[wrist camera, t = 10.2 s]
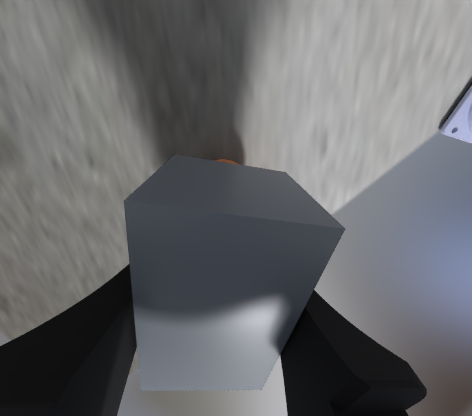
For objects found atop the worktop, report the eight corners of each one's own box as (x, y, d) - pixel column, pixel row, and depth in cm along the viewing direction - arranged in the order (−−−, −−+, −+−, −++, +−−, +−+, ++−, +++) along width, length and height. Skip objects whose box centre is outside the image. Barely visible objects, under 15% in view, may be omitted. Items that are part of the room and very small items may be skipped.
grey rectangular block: (285, 172, 11) (345, 228, 6) (248, 295, 16) (261, 389, 10) (175, 154, 10) (123, 200, 5) (170, 290, 15) (140, 390, 9)
